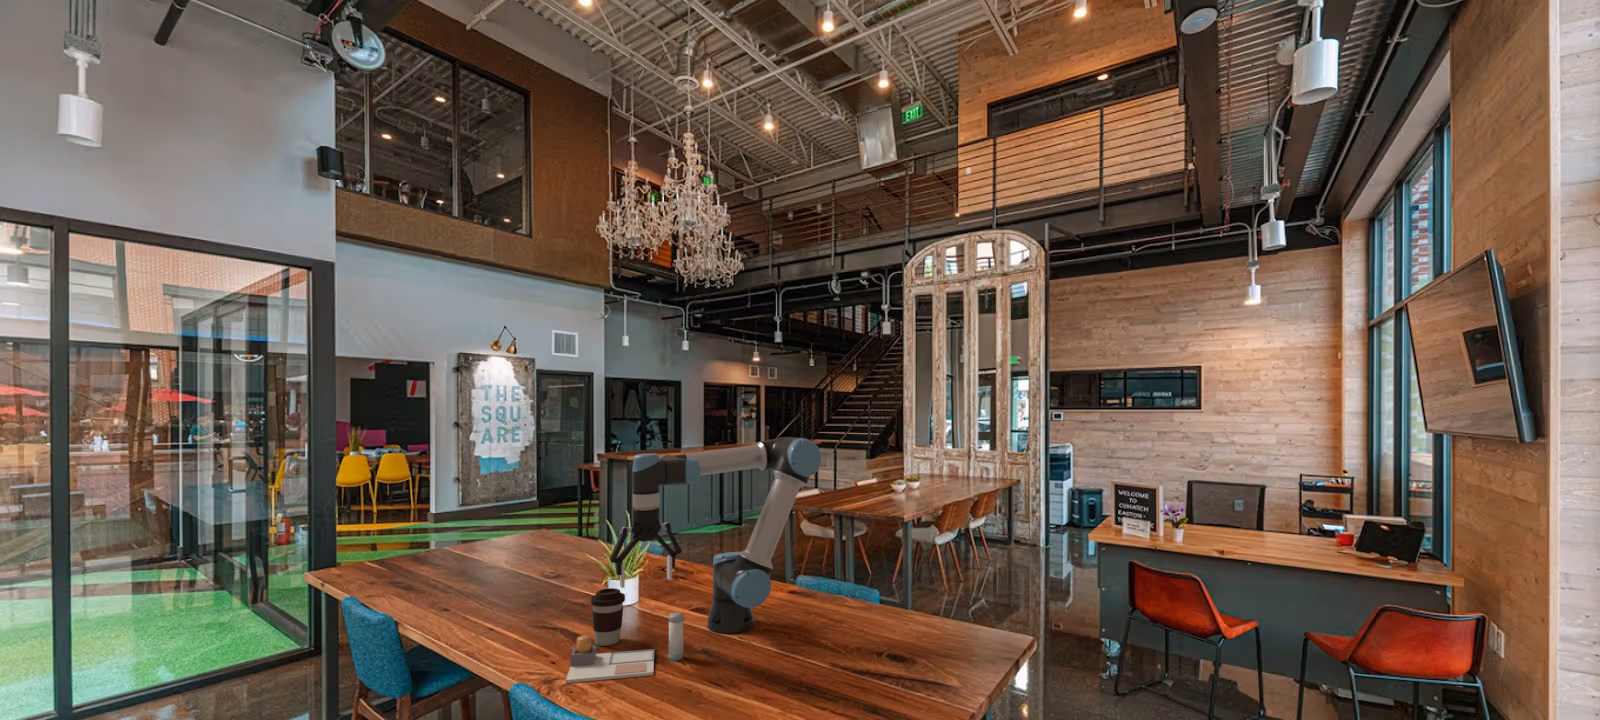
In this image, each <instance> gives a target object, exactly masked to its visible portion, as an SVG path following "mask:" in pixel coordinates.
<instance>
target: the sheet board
mask: <svg viewBox="0 0 1600 720" xmlns="http://www.w3.org/2000/svg"><path fill="white" fill-rule="evenodd" d="M571 651H572V652H571V653H570V667H569V671H568V673H567V675H566V679H565V684H571V683H572V684H574V683H584V682H596V681H604V680H615V679H618V680H619V679H627V678H635V677H637V678H638V677H647V676H648V677H649V676H650V677H651V676H654V671H655V669H654V668H655V667H654V666H655V665H654V663H655V648H652V649H639V650H628V651H627V650H626V651H615V652H614V651H613V652H602V653H597V645H596V644H594V645H593V644H591V652H590V653H578V654H577V646H573V649H572V650H571Z"/></svg>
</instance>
